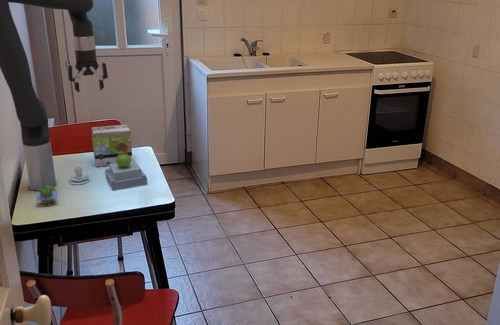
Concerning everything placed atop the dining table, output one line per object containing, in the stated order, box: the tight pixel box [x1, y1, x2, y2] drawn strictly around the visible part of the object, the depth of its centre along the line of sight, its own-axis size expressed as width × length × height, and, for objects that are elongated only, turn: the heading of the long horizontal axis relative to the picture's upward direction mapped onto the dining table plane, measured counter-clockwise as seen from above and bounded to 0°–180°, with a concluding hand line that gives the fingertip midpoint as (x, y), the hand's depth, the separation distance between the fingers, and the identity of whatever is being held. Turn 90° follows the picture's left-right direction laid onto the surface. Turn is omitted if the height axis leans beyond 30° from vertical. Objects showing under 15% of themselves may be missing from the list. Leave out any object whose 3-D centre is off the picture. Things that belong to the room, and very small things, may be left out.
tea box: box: [90, 124, 133, 168], centre depth 205 cm, size 15×10×15 cm, turn 111°
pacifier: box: [68, 165, 90, 186], centre depth 186 cm, size 7×6×6 cm
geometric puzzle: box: [35, 185, 58, 206], centre depth 168 cm, size 7×7×8 cm
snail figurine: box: [115, 135, 132, 167], centre depth 184 cm, size 5×6×12 cm
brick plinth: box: [104, 160, 148, 191], centre depth 187 cm, size 13×13×6 cm
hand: (89, 90), depth 189 cm, fingers open, 8 cm apart
